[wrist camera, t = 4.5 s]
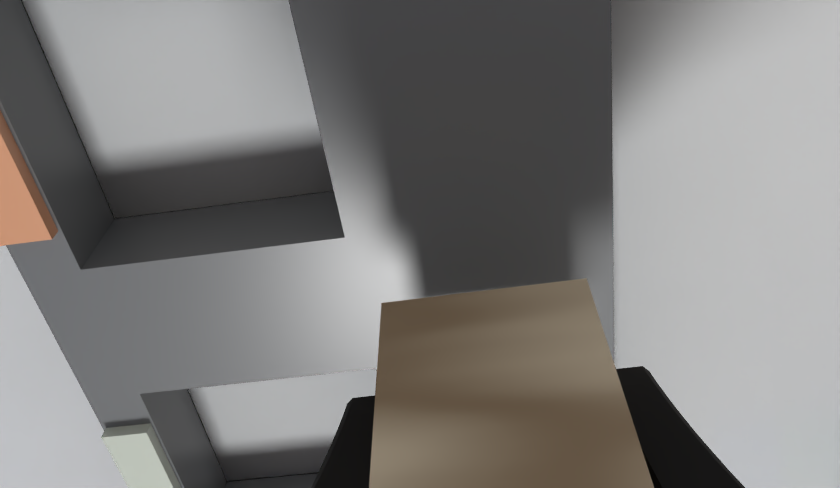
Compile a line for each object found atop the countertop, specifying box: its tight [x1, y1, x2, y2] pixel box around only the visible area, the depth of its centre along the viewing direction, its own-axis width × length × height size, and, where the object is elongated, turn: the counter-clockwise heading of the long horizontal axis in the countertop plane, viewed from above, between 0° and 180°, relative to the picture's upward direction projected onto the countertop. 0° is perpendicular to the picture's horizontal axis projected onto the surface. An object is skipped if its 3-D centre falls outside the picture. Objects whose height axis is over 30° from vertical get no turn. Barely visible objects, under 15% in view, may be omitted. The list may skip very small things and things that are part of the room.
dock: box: [0, 0, 614, 488], centre depth 16 cm, size 12×20×2 cm, turn 8°
